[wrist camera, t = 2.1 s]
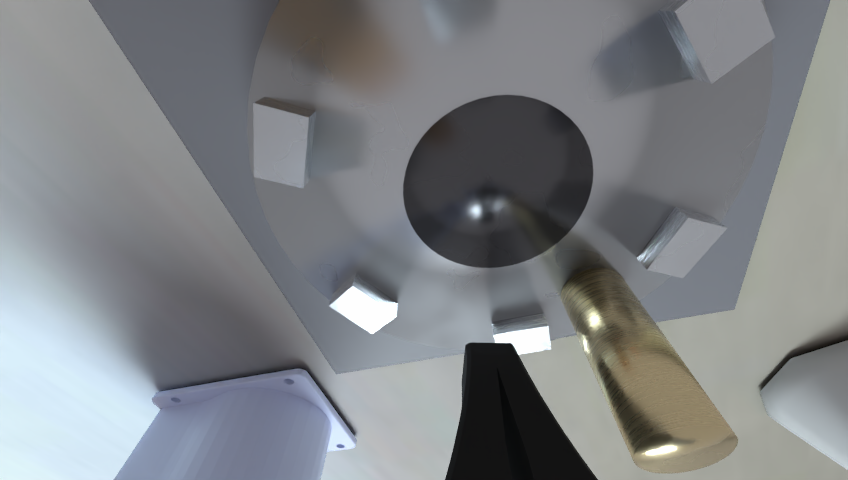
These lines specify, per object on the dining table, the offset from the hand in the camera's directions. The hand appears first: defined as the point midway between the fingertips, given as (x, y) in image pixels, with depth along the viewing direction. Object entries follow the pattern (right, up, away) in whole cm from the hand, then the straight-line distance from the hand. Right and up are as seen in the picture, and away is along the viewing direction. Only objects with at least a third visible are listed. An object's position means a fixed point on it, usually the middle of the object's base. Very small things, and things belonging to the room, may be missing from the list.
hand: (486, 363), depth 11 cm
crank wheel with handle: (0, +6, 0) cm, 6 cm away
